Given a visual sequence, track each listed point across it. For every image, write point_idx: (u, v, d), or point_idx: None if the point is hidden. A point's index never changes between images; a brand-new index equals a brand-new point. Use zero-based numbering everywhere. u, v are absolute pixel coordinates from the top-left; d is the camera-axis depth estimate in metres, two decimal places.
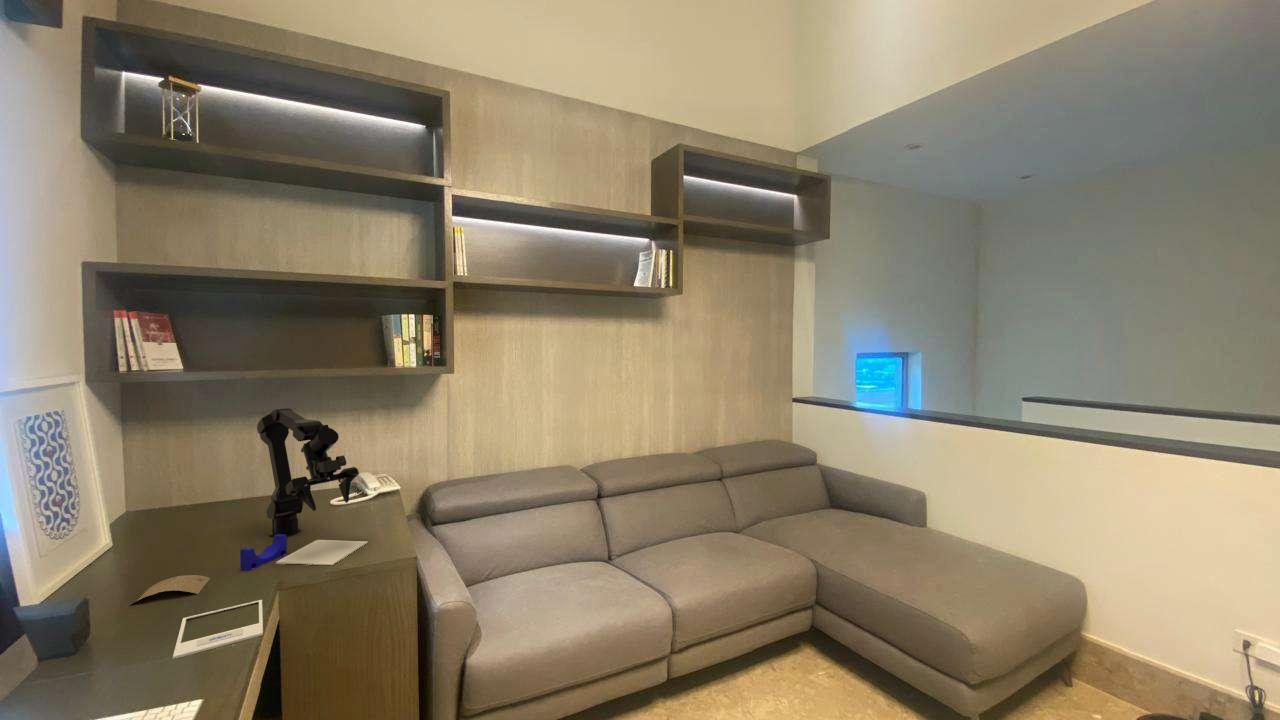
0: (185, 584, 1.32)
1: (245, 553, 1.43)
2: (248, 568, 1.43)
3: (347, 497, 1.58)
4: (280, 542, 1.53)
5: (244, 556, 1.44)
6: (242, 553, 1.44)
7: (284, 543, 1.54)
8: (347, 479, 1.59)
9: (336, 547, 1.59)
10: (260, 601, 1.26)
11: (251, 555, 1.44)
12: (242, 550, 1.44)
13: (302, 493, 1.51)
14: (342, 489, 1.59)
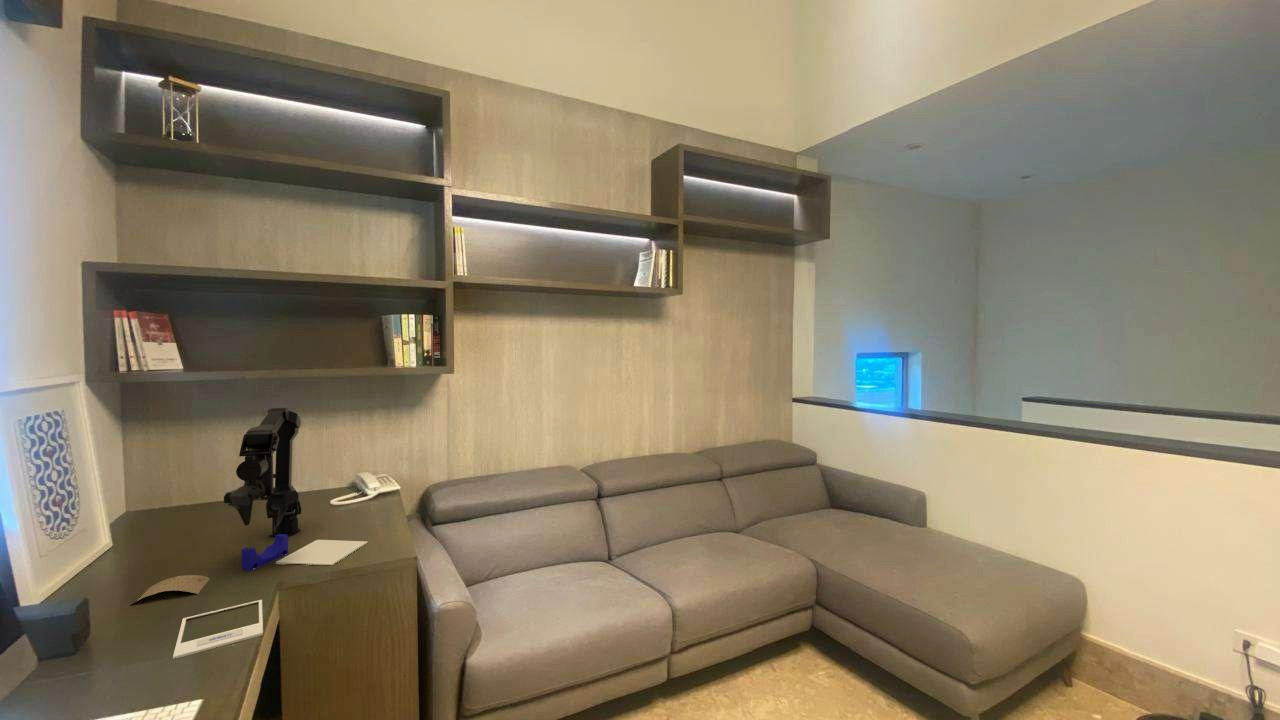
0: (185, 584, 1.32)
1: (247, 553, 1.43)
2: (250, 568, 1.43)
3: (275, 522, 1.48)
4: (281, 542, 1.53)
5: (245, 556, 1.44)
6: (244, 553, 1.44)
7: (285, 543, 1.54)
8: (272, 507, 1.46)
9: (336, 547, 1.59)
10: (260, 601, 1.26)
11: (253, 555, 1.44)
12: (244, 550, 1.44)
13: None
14: None
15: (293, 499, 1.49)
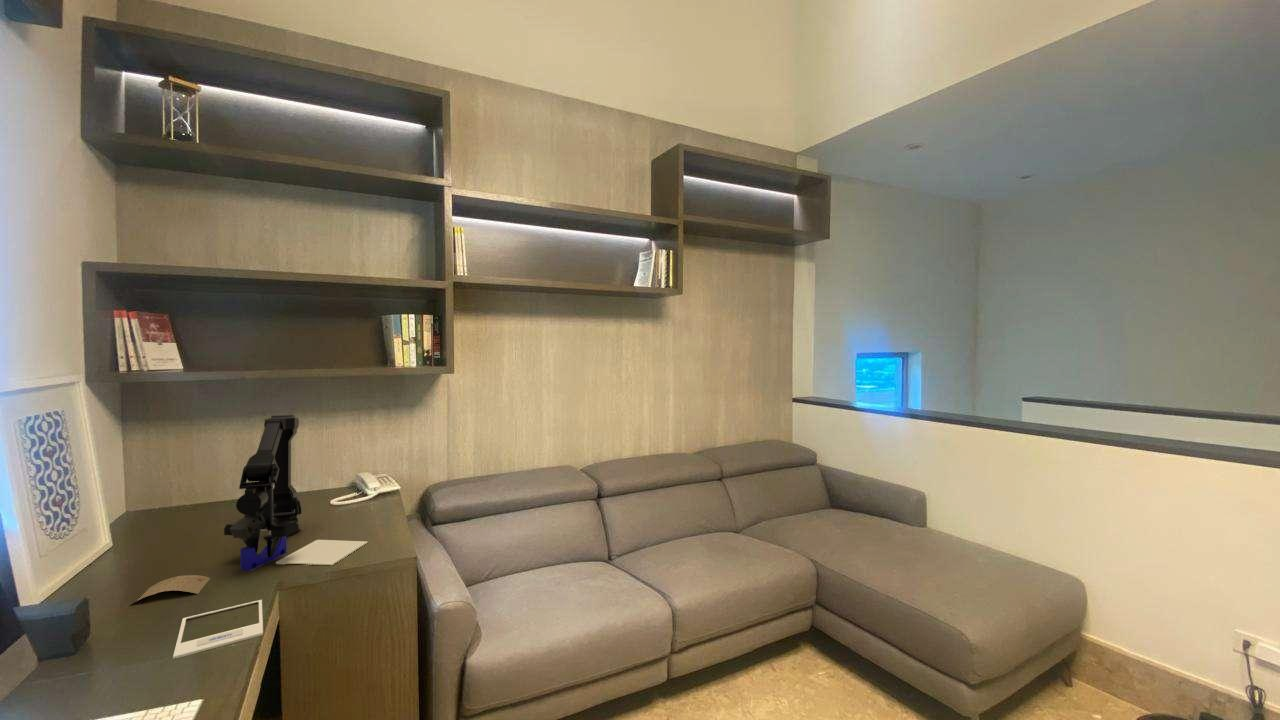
0: (185, 584, 1.32)
1: (246, 553, 1.44)
2: (249, 567, 1.44)
3: (268, 554, 1.49)
4: (280, 541, 1.53)
5: (244, 555, 1.44)
6: (243, 553, 1.44)
7: (283, 542, 1.54)
8: (265, 539, 1.47)
9: (336, 547, 1.59)
10: (260, 601, 1.26)
11: (252, 554, 1.44)
12: (243, 550, 1.44)
13: (251, 534, 1.51)
14: None
15: (293, 530, 1.49)
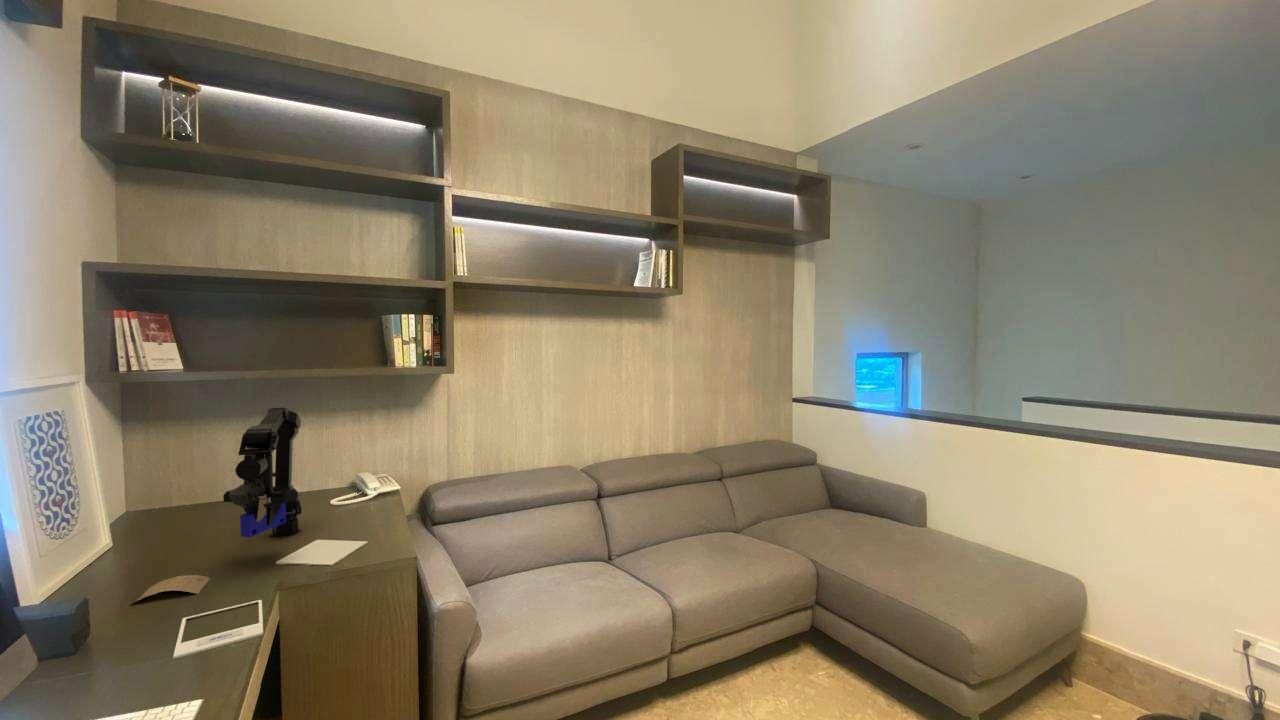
0: (185, 584, 1.32)
1: (246, 519, 1.43)
2: (249, 534, 1.43)
3: (267, 521, 1.48)
4: (279, 510, 1.53)
5: (244, 521, 1.43)
6: (242, 519, 1.44)
7: (283, 511, 1.54)
8: (264, 506, 1.46)
9: (336, 547, 1.59)
10: (260, 601, 1.26)
11: (252, 521, 1.44)
12: (242, 516, 1.43)
13: (251, 502, 1.50)
14: None
15: (292, 498, 1.49)
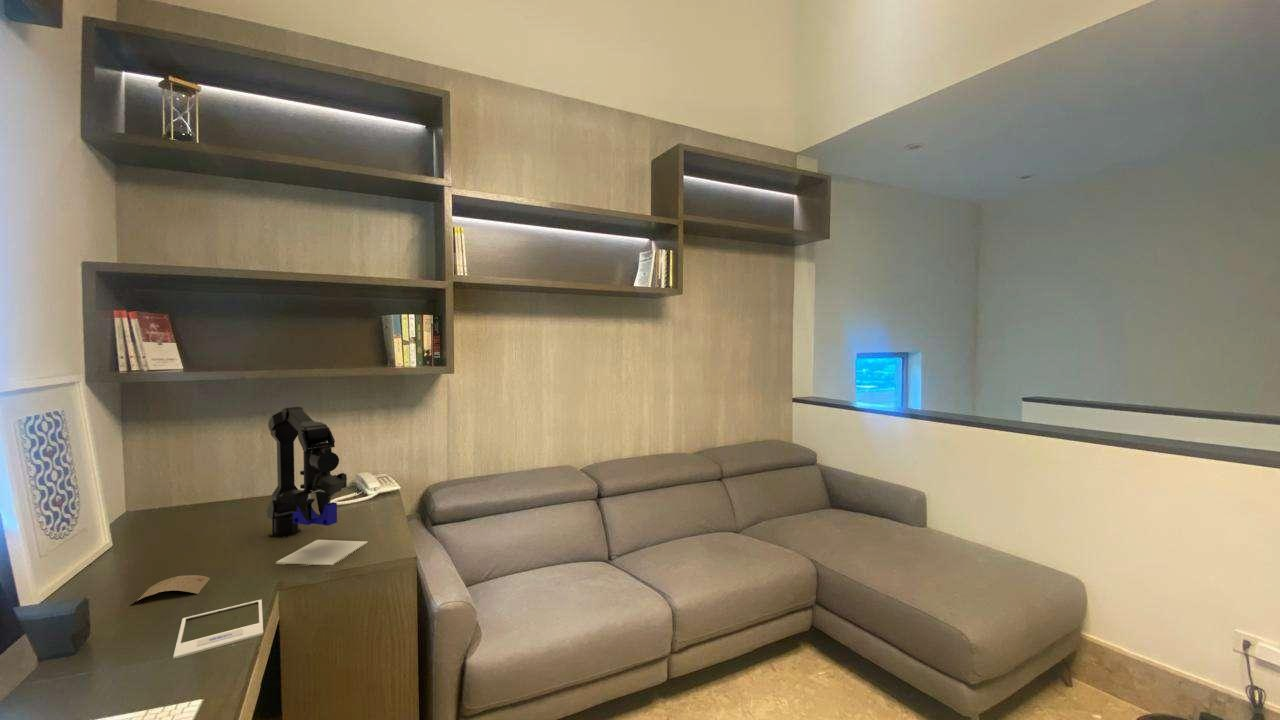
0: (185, 584, 1.32)
1: (333, 507, 1.54)
2: (336, 520, 1.55)
3: None
4: None
5: (332, 510, 1.53)
6: (330, 508, 1.53)
7: None
8: (331, 494, 1.57)
9: (336, 547, 1.59)
10: (260, 601, 1.26)
11: None
12: (330, 505, 1.53)
13: None
14: (320, 500, 1.57)
15: None
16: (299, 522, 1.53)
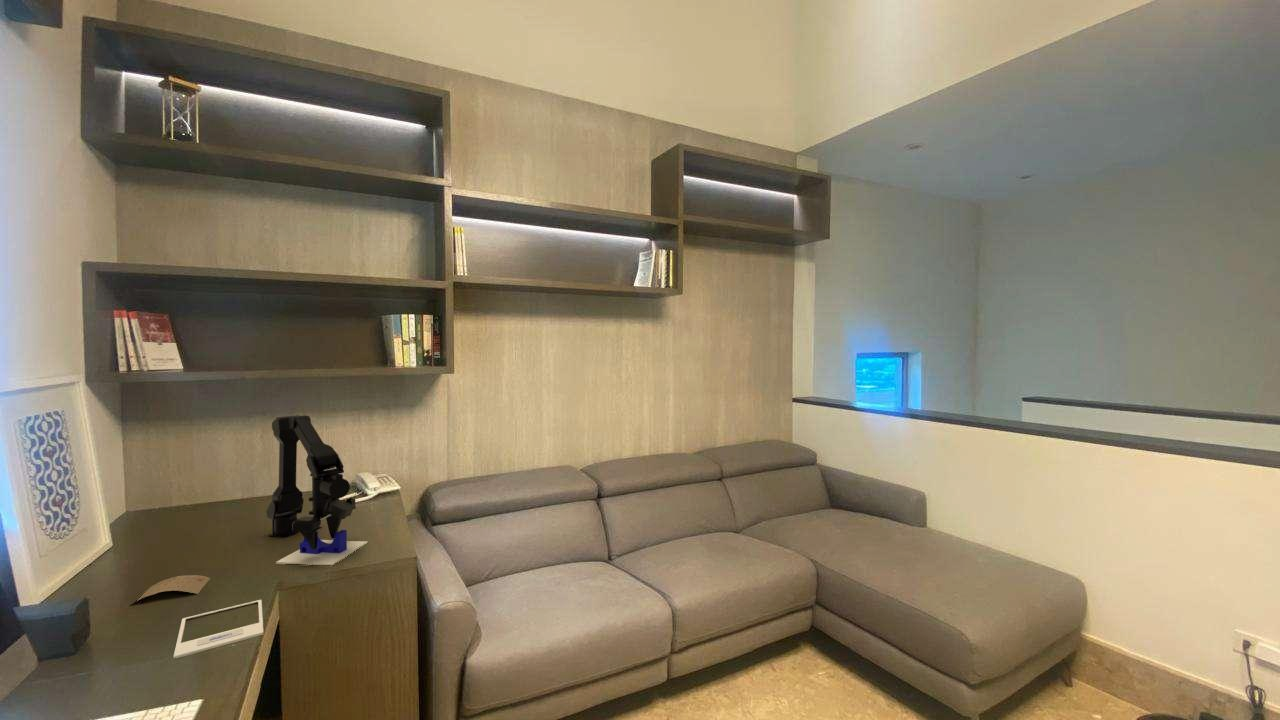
0: (185, 584, 1.32)
1: (343, 534, 1.56)
2: (346, 547, 1.57)
3: None
4: None
5: (342, 537, 1.55)
6: (341, 536, 1.55)
7: None
8: None
9: None
10: (259, 601, 1.26)
11: None
12: (341, 533, 1.55)
13: None
14: (331, 523, 1.60)
15: None
16: (307, 552, 1.54)
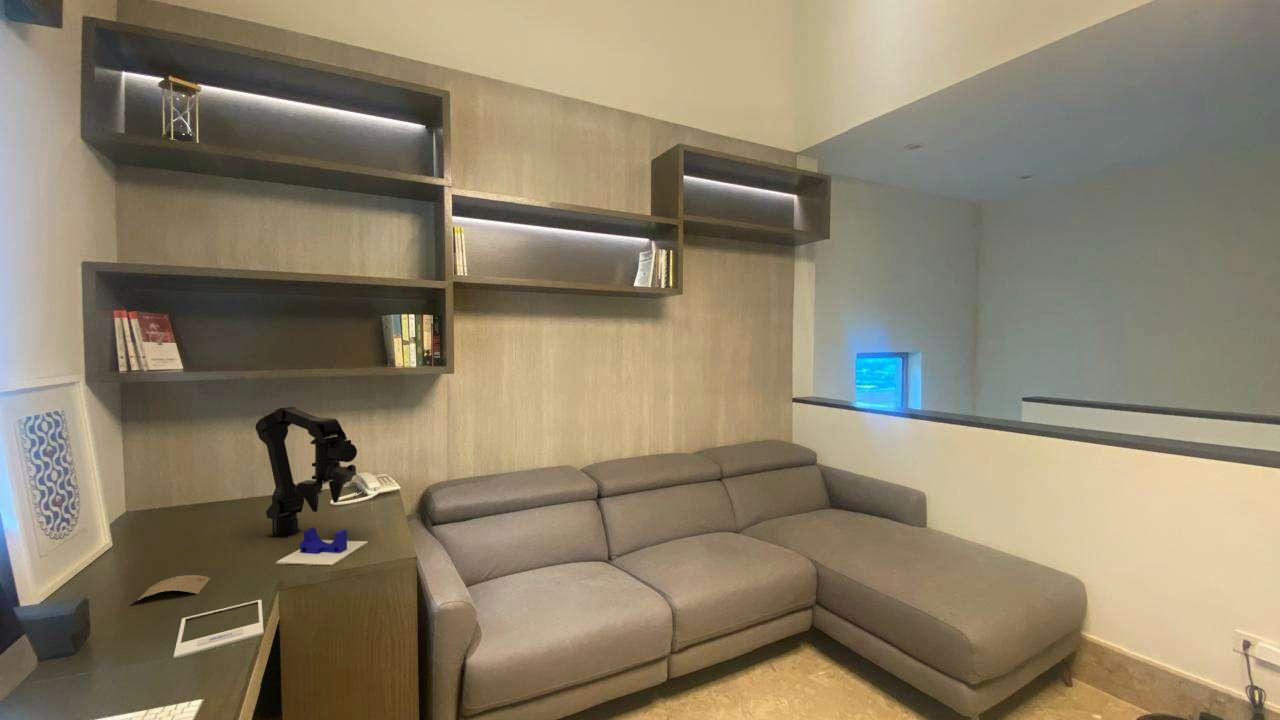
0: (185, 584, 1.32)
1: (344, 534, 1.56)
2: (346, 547, 1.57)
3: (337, 498, 1.69)
4: (316, 533, 1.58)
5: (343, 537, 1.55)
6: (341, 536, 1.55)
7: None
8: None
9: None
10: (259, 601, 1.26)
11: None
12: (341, 533, 1.55)
13: None
14: (333, 488, 1.69)
15: None
16: (307, 551, 1.54)
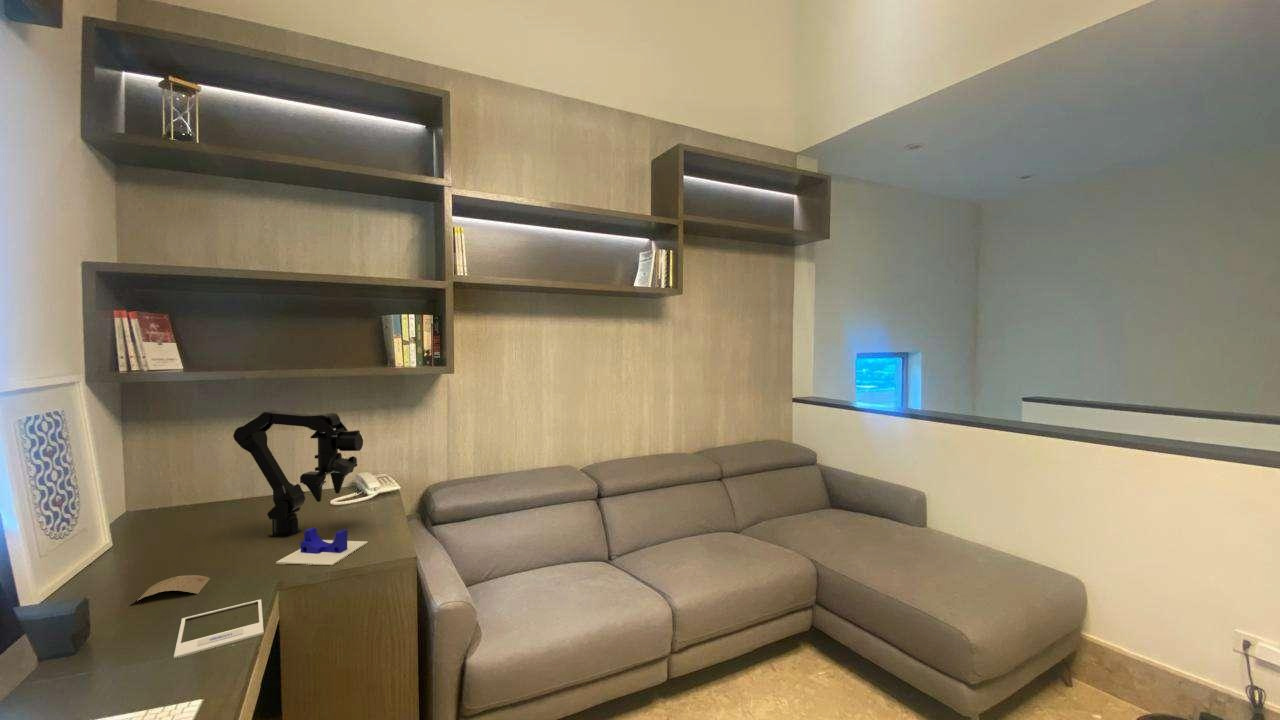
0: (185, 584, 1.32)
1: (344, 534, 1.56)
2: (346, 546, 1.57)
3: (339, 489, 1.77)
4: (316, 533, 1.58)
5: (343, 537, 1.56)
6: (341, 536, 1.55)
7: None
8: (345, 474, 1.77)
9: None
10: (259, 601, 1.26)
11: None
12: (341, 533, 1.55)
13: None
14: (335, 479, 1.77)
15: None
16: (308, 551, 1.54)
